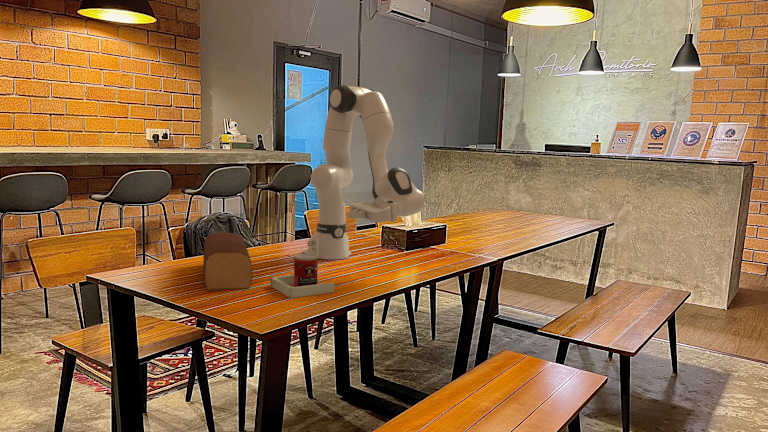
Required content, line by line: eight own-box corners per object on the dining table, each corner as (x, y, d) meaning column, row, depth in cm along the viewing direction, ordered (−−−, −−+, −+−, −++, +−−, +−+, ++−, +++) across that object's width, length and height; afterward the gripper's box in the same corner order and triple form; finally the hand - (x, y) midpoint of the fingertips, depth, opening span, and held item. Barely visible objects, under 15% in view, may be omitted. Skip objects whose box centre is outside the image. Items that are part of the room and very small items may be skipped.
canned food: (297, 292, 190) (298, 259, 189) (291, 286, 197) (291, 254, 196) (320, 290, 193) (320, 257, 192) (313, 284, 200) (313, 253, 199)
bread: (203, 292, 188) (203, 251, 187) (203, 265, 225) (203, 231, 223) (253, 289, 193) (252, 249, 191) (244, 264, 230) (244, 230, 228)
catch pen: (270, 286, 197) (270, 277, 196) (311, 280, 205) (311, 272, 205) (291, 298, 183) (291, 288, 183) (333, 292, 192) (334, 283, 191)
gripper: (369, 196, 218) (335, 202, 211) (398, 204, 200) (362, 211, 194) (370, 212, 219) (337, 219, 213) (399, 221, 202) (364, 229, 195)
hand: (349, 215), depth 203 cm, fingers closed
